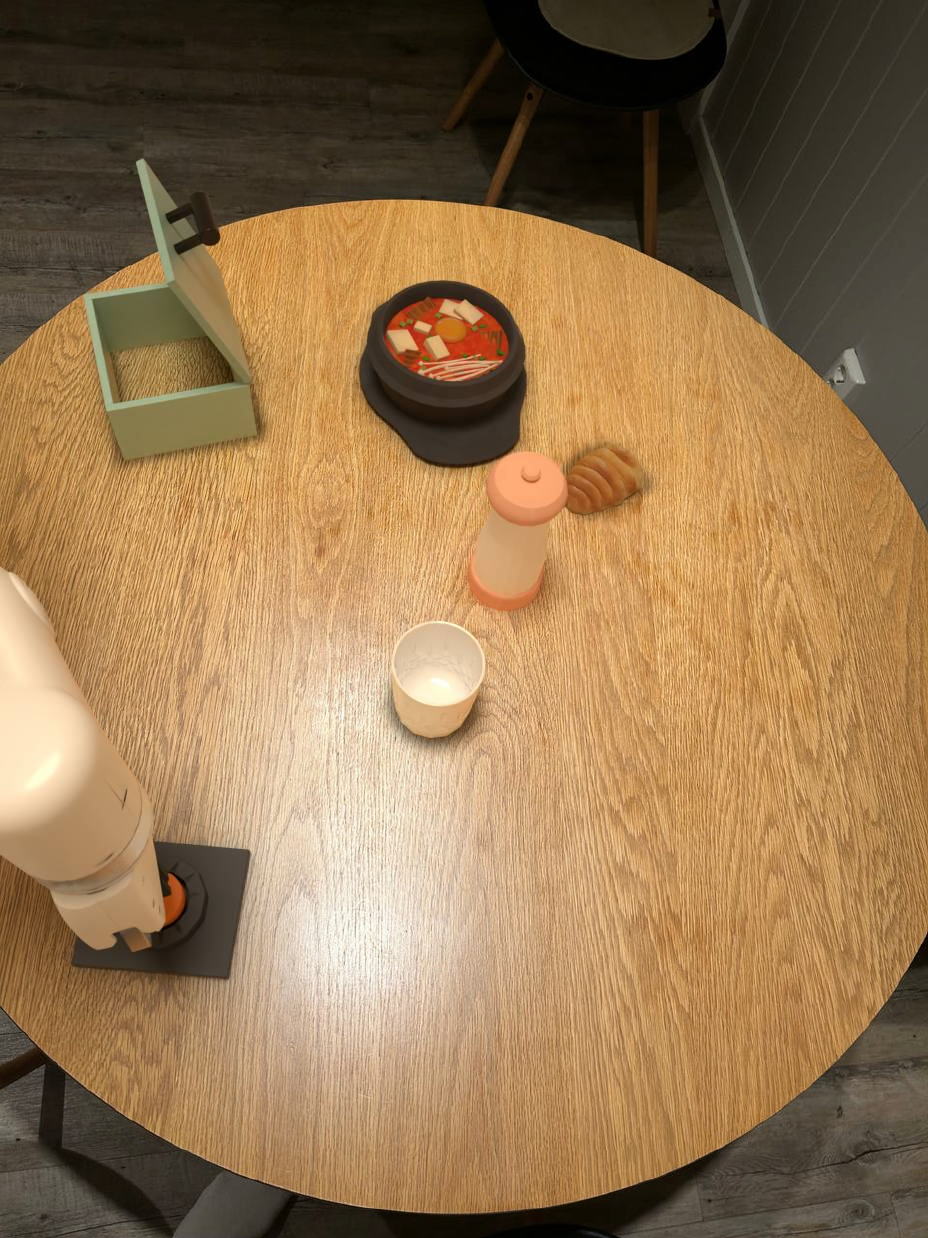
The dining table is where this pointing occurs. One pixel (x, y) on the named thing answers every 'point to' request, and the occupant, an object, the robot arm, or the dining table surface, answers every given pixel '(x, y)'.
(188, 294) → the lid
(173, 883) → the button
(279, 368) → the dining table surface
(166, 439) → the green bottomless box
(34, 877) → the robot arm
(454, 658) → the white cup
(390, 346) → the casserole
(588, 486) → the pastry
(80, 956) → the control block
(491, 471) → the salt shaker
